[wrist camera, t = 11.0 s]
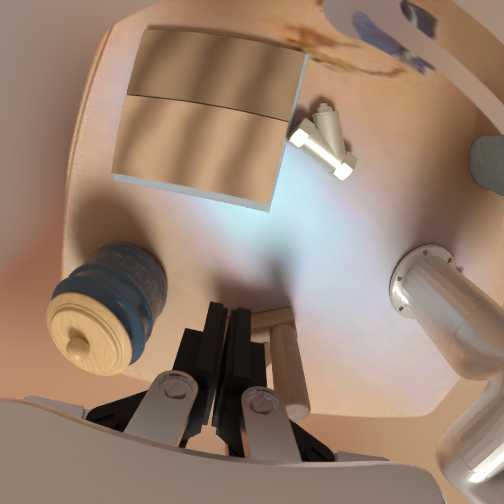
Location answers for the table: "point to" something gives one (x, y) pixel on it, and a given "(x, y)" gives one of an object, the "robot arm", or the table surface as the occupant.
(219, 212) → the table surface
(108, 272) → the canister
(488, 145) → the grey pot
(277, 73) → the floor board
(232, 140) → the plank
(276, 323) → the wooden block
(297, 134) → the pipe fitting
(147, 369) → the table surface
